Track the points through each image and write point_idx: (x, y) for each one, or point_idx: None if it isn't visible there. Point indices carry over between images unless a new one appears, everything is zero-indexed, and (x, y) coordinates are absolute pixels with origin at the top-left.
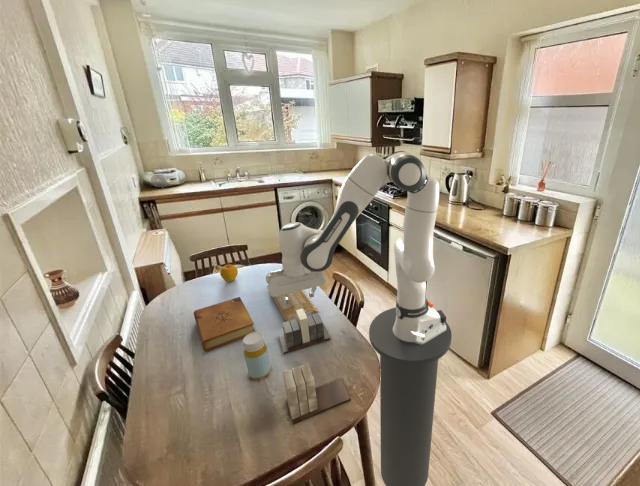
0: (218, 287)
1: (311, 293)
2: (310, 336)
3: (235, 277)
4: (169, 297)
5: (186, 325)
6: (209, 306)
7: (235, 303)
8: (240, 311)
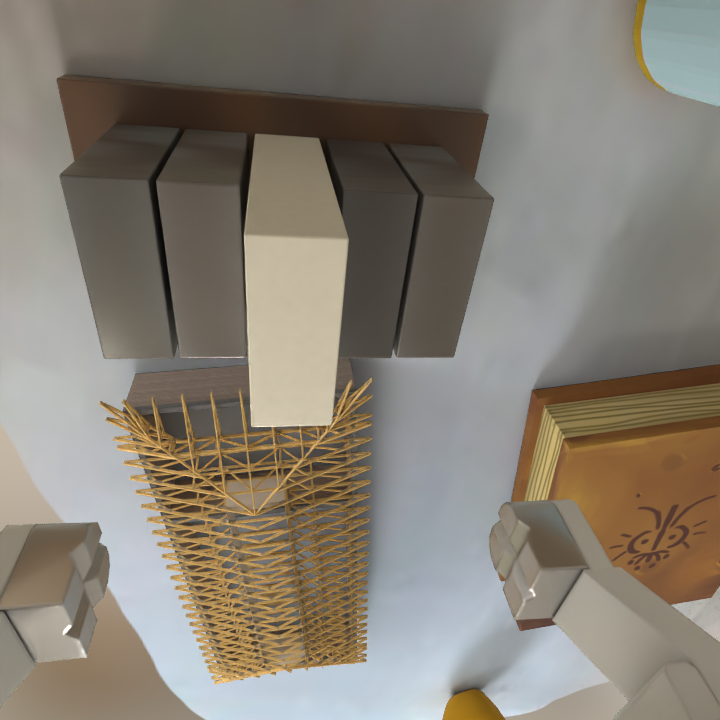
0: (517, 671)
1: (24, 614)
2: (244, 145)
3: (452, 707)
4: None
5: None
6: None
7: None
8: None
